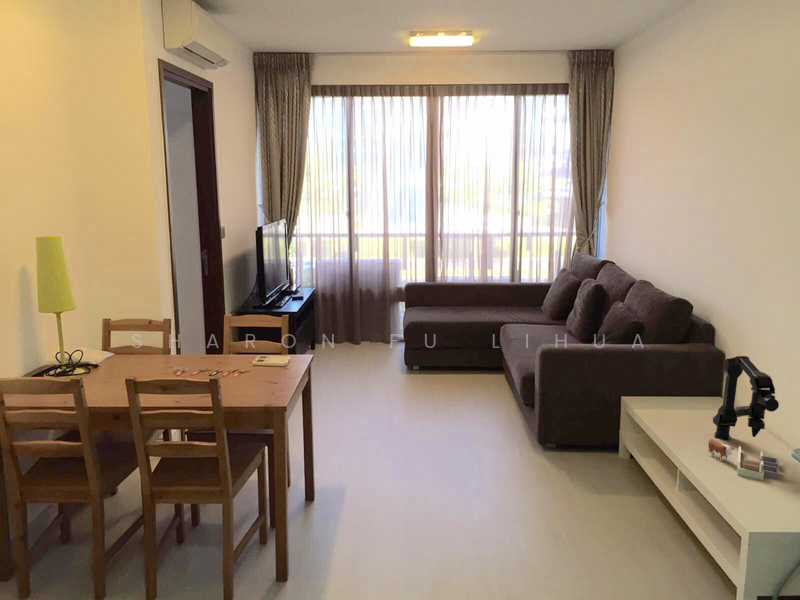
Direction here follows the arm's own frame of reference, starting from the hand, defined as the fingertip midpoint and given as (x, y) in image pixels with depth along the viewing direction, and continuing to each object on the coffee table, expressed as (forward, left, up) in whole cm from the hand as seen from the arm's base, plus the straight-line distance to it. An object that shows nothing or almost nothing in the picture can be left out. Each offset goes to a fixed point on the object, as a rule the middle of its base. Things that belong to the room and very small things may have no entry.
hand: (753, 436), depth 280 cm
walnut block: (+14, 0, -12) cm, 18 cm away
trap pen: (+4, +3, -12) cm, 13 cm away
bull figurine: (+5, -12, -12) cm, 18 cm away
